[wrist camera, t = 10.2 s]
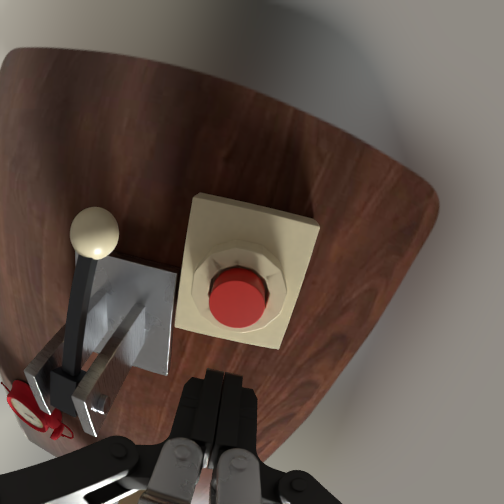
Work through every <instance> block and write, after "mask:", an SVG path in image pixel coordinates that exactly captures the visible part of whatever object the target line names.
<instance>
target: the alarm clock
mask: <svg viewBox="0 0 504 504" xmlns="http://www.w3.org/2000/svg"><path fill="white" fill-rule="evenodd" d="M1 384H3V382H1ZM3 386H4V387H5V388H6V389H7V390H8V391H9V394H8V395H7V402H8V404H9V405H10V407H11V408H12V410H13V411H14V412H15V413H16V414H17V415H18V416H19V417H20V418H21V419H22V420H23V421H24V422H25V423H26V424H28V425H29V426H30V427H32V428H34V429H35V430H37V431H40V432H46V431H47V430H48V428H49V427H50V428H52V429H54V431H53V433H52V435H51V437H50V438H51V439H53V440H57V439H58V438H59V437H60V436H62V437H64V436H65V435H63V434H62V432H63V429H64V426H65V427H66V428H68V427H67V426H66V425H64V424H63V423H61V421H62V414H61V411H60V410H59V409H57V408H55V409H54V410H53V412H52V413H51V415H49V414H47V413H46V412H44V411H42V410H41V409H40V407H39V405H38V403H37V401H36V399H35V397H34V394H33V392H32V390H31V388H30V386H29V385H28V384H26V383H24V382H22V381H19V380H15V381H14V382H13V384H12V390H11V391H10V390H9V389H8V388H7V387H6V386H5V385H4V384H3ZM68 429H69V428H68ZM69 430H70V429H69ZM70 432H71V433H72V437H68V436H65V437H67V438H70V439H72V438H73V437H74V435H73V432H72V431H71V430H70Z"/></svg>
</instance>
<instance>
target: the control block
mask: <svg viewBox="0 0 504 504" xmlns="http://www.w3.org/2000/svg"><path fill="white" fill-rule="evenodd" d="M319 228H320V226H319V225H318V223H317V222H316V221H315V219H312V218H308V217H304V216H300V215H297V214H293V213H288V212H284V211H280V210H276V209H272V208H268V207H264V206H259V205H255V204H251V203H246V202H242V201H238V200H233V199H229V198H224V197H219V196H215V195H210V194H205V193H198V194H197V195H195V196H194V197H193V200H192V206H191V211H190V217H189V223H188V229H187V235H186V242H185V248H184V255H183V262H182V269H181V276H180V284H179V292H178V300H177V308H176V318H175V327H177V328H181V329H185V330H189V331H193V332H197V333H201V334H206V335H210V336H214V337H219V338H223V339H228V340H232V341H237V342H242V343H247V344H252V345H257V346H263V347H268V348H274V349H279V347H280V345H281V342H282V339H283V336H284V334H285V331H286V328H287V325H288V323H289V320H290V317H291V314H292V311H293V309H294V306H295V303H296V300H297V297H298V294H299V291H300V288H301V285H302V282H303V279H304V276H305V273H306V270H307V267H308V264H309V261H310V257H311V254H312V251H313V248H314V245H315V241H316V238H317V235H318V232H319ZM233 268H243V269H247V270H250V271H252V272H253V273H255V274H256V275H257V276H258V277H259V278H260V279H261V281H262V282H263V285H264V289H265V309H264V313H263V315H262V317H261V318H260V319H259V320H258V321H257V322H256V323H255V324H253V325H251V326H248V327H245V328H231V327H228V326H225V325H223V324H221V323H220V322H218V321H217V320H216V319H215V318H214V316H213V315H212V313H211V311H210V308H209V297H210V294H211V291H212V288H213V285H214V282H215V280H216V279H217V277H218V276H219V275H220V274H221V273H223V272H224V271H226V270H229V269H233Z"/></svg>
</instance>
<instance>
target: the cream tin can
mask: <svg viewBox="0 0 504 504" xmlns="http://www.w3.org/2000/svg"><path fill="white" fill-rule="evenodd" d="M143 492H145V490H138V491H136V492H134V493H132V494H130V495H128V496H126V497H124V498H122V499H120V500H119V503H118V504H137V503H138V500H139V498H140V496H141V495H142V493H143Z"/></svg>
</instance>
